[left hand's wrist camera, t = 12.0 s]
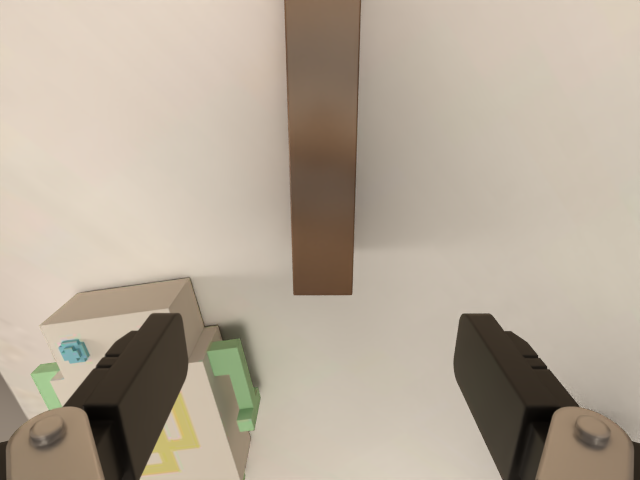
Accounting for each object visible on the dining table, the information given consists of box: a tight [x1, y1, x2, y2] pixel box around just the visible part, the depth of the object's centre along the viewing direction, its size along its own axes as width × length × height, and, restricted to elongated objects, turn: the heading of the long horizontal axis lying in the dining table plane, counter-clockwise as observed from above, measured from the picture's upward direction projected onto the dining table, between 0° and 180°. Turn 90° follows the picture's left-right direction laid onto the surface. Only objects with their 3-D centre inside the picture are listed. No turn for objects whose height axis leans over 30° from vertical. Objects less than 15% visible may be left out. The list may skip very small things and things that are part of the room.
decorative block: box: [31, 278, 261, 480], centre depth 40 cm, size 26×6×20 cm
